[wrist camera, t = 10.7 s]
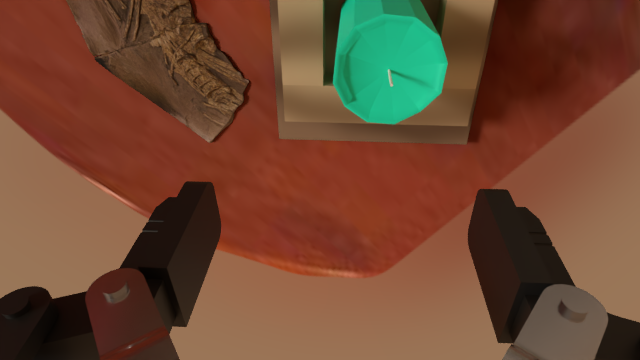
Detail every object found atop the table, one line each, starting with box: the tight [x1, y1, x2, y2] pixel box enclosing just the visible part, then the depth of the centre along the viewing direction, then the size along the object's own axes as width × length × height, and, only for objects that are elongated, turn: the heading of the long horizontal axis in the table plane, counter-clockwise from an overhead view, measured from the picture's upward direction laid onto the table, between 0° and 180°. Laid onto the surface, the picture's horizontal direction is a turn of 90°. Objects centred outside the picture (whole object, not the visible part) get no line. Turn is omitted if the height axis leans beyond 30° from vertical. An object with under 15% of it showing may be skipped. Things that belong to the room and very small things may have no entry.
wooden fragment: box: [66, 0, 249, 143], centre depth 32 cm, size 26×11×1 cm, turn 22°
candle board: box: [270, 0, 498, 144], centre depth 30 cm, size 20×16×4 cm
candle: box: [333, 0, 448, 124], centre depth 26 cm, size 6×6×12 cm
